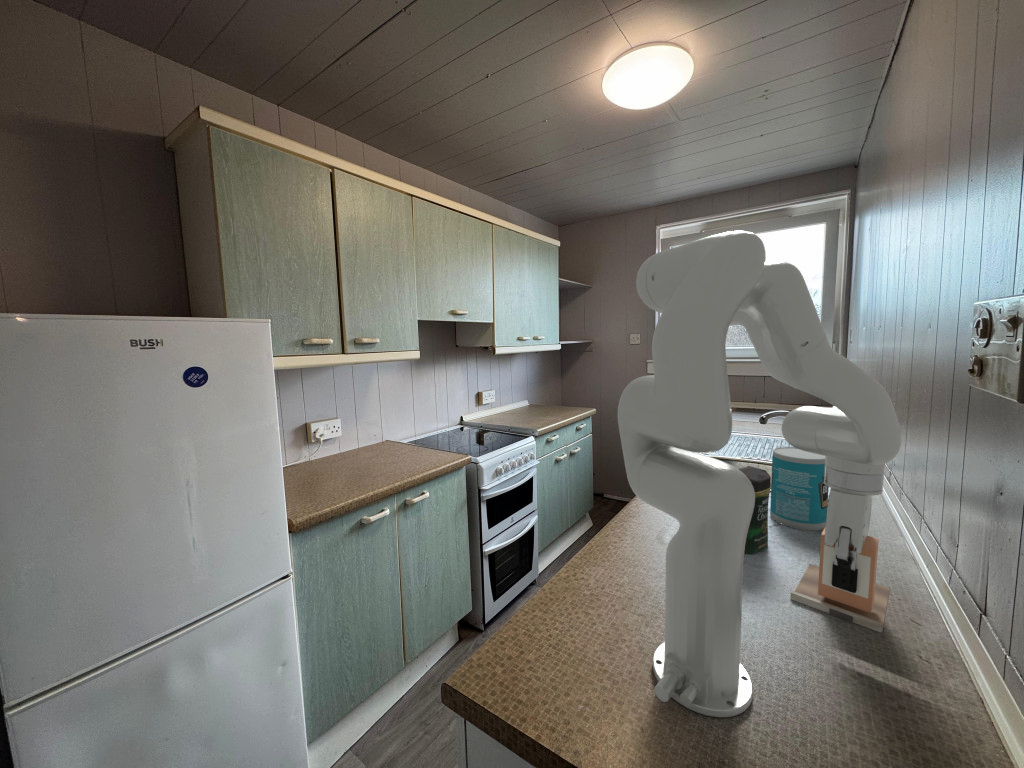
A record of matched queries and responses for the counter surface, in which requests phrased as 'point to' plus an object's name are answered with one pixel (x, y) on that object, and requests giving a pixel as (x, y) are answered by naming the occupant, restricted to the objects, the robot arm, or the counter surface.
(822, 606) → the shelf board
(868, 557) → the salmon upright cuboid
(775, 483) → the food can
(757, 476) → the coffee jar
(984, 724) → the counter surface
